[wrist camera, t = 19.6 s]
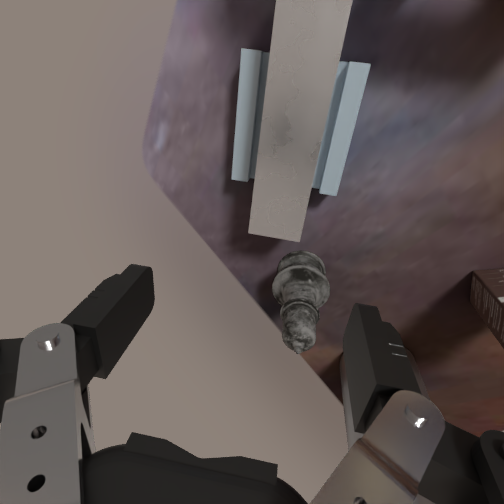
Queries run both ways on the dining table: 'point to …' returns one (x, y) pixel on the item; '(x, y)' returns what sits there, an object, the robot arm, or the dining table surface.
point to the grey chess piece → (300, 297)
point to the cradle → (336, 127)
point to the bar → (295, 111)
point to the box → (489, 299)
